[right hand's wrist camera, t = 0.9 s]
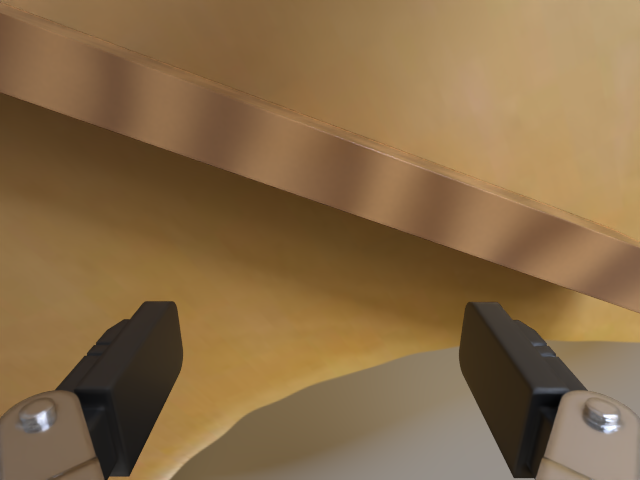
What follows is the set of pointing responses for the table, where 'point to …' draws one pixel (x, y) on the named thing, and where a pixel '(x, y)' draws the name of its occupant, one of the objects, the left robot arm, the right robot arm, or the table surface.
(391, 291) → the table surface
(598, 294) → the bar
